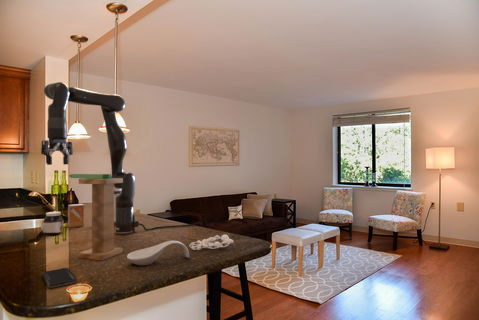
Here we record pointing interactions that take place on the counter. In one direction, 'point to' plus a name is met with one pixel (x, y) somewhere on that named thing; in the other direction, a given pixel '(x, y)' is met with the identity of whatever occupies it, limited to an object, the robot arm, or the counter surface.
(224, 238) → the tangled rod sculpture
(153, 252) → the spoon rest
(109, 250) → the wooden pedestal stand
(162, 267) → the counter surface
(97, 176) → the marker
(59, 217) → the spread jar
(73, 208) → the small box
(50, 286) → the phone
